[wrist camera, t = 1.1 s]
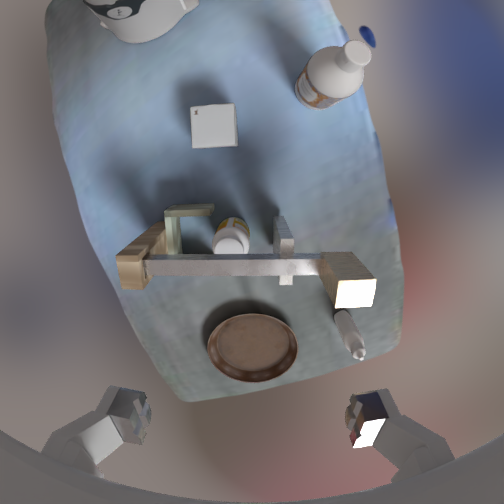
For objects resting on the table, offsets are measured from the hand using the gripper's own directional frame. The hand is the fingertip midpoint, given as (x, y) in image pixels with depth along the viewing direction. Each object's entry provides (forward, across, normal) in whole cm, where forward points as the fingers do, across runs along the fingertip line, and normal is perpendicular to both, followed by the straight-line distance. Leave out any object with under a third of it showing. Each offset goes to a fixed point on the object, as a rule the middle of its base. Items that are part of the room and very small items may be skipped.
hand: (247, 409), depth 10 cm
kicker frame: (+38, +10, +3) cm, 40 cm away
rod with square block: (+37, +1, +3) cm, 37 cm away
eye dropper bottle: (+39, -18, +20) cm, 48 cm away
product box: (+38, +5, -14) cm, 41 cm away
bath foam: (+38, -10, -21) cm, 45 cm away
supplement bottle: (+39, +3, +3) cm, 39 cm away
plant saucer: (+40, 0, +26) cm, 47 cm away
